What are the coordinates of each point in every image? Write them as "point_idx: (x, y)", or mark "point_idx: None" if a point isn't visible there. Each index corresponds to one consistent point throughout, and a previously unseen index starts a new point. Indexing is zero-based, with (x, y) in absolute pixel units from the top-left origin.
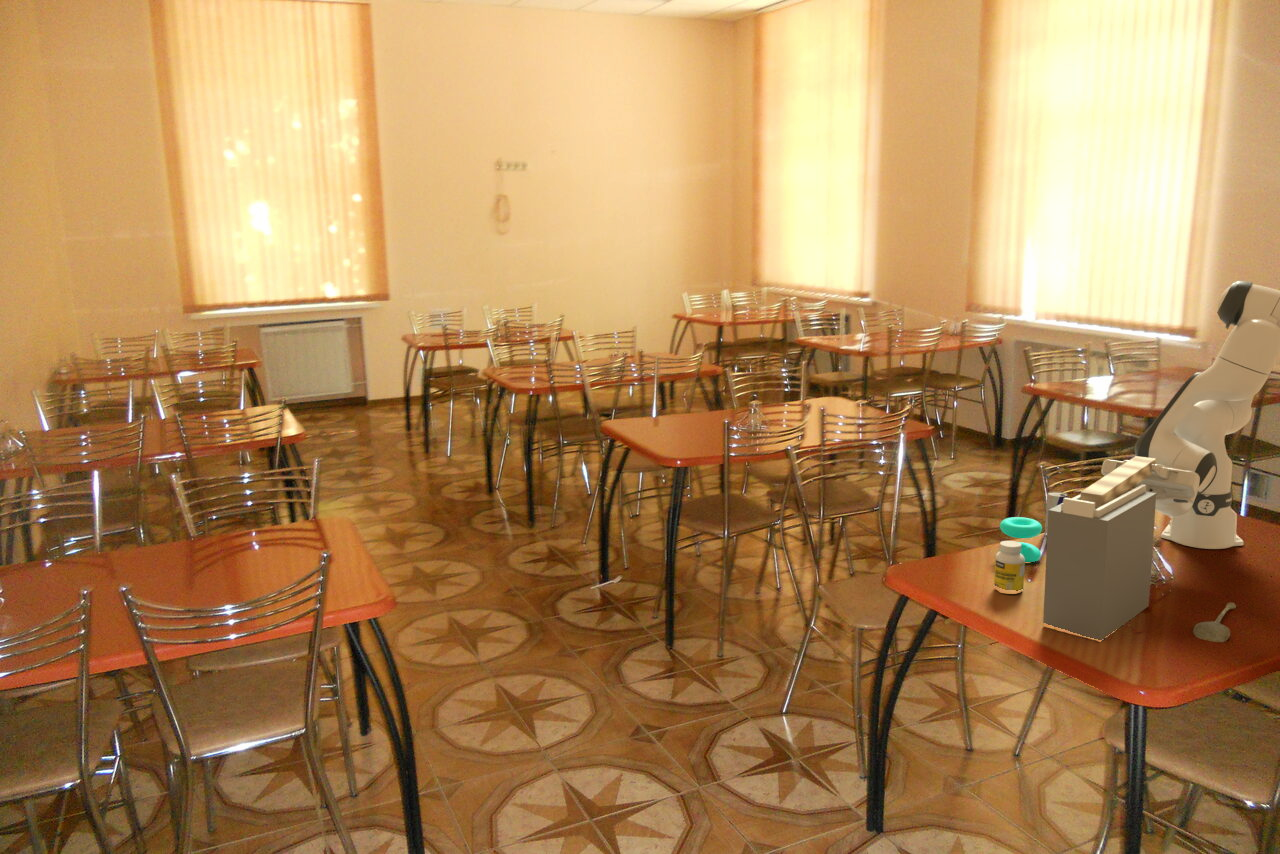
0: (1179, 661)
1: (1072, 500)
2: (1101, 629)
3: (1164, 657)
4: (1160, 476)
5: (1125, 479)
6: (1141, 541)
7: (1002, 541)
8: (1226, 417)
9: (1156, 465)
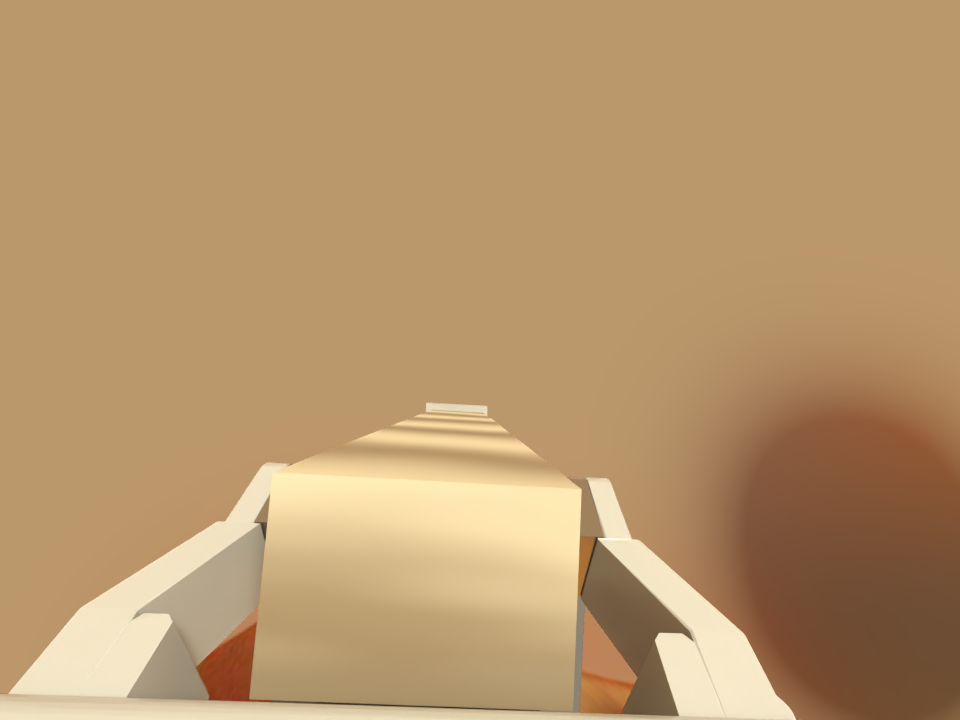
0: (223, 700)
1: (468, 405)
2: None
3: (252, 700)
4: (201, 656)
5: (415, 416)
6: None
7: (788, 708)
8: None
9: (280, 467)
